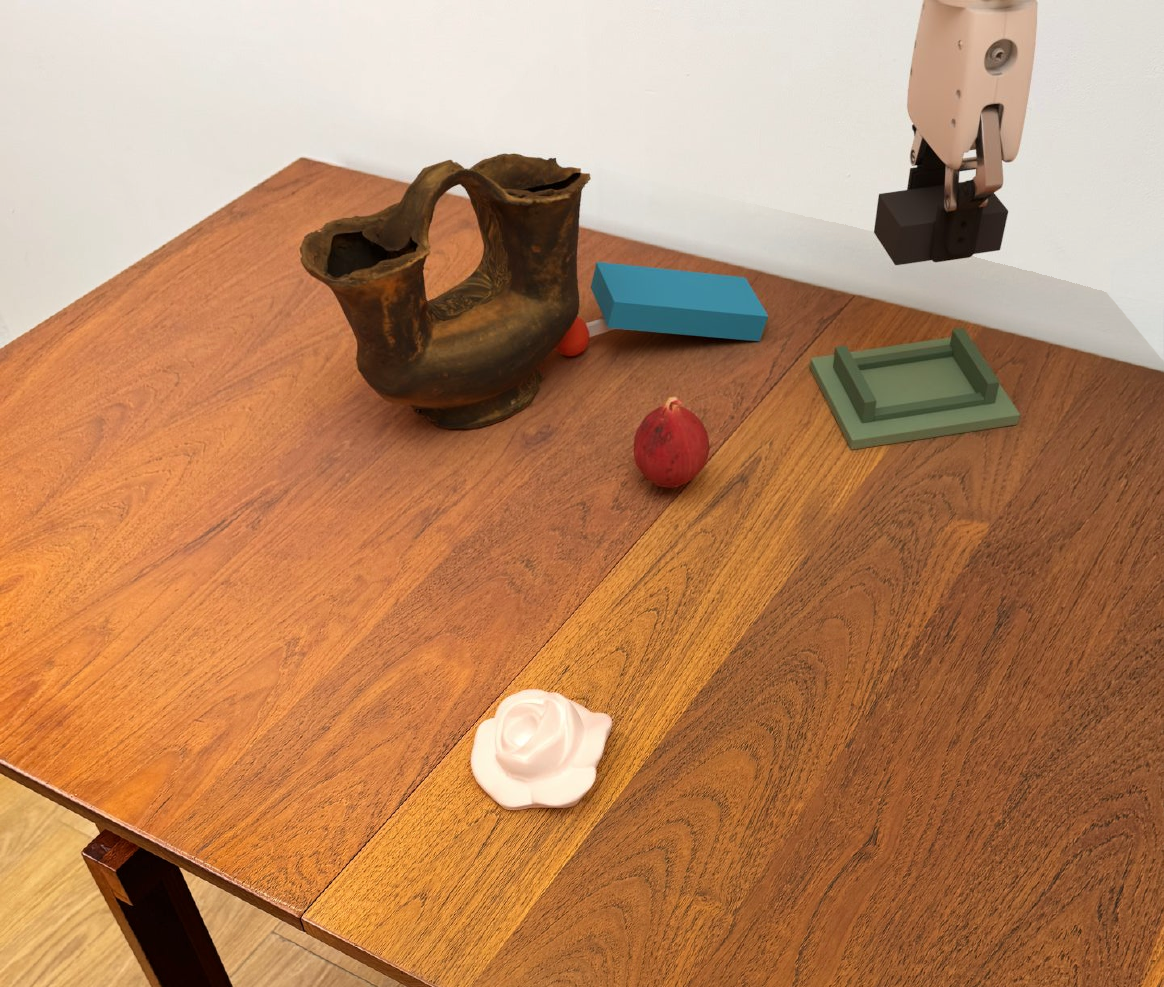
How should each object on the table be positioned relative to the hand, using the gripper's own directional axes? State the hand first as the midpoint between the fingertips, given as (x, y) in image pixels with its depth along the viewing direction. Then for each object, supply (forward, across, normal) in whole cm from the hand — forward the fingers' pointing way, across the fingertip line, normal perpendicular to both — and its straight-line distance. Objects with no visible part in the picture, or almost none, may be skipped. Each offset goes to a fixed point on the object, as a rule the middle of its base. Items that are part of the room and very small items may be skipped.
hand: (937, 236), depth 93 cm
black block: (0, 0, 0) cm, 0 cm away
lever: (+15, +16, +18) cm, 28 cm away
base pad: (+15, +1, -1) cm, 15 cm away
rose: (+15, -31, +36) cm, 50 cm away
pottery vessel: (+15, +11, +35) cm, 40 cm away
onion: (+15, -6, +21) cm, 27 cm away
